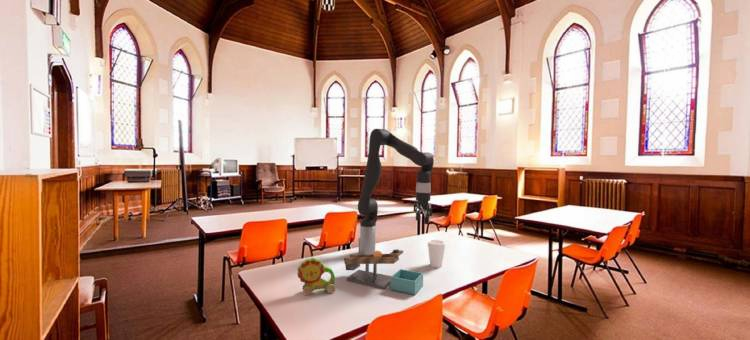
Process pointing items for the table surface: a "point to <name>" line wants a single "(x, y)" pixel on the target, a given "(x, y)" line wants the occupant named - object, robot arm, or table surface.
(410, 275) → the teal storage bin
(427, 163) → the robot arm
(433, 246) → the foam cup
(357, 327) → the table surface
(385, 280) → the stand
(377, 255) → the ball
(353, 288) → the table surface
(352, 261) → the lever
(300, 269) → the toy lion
